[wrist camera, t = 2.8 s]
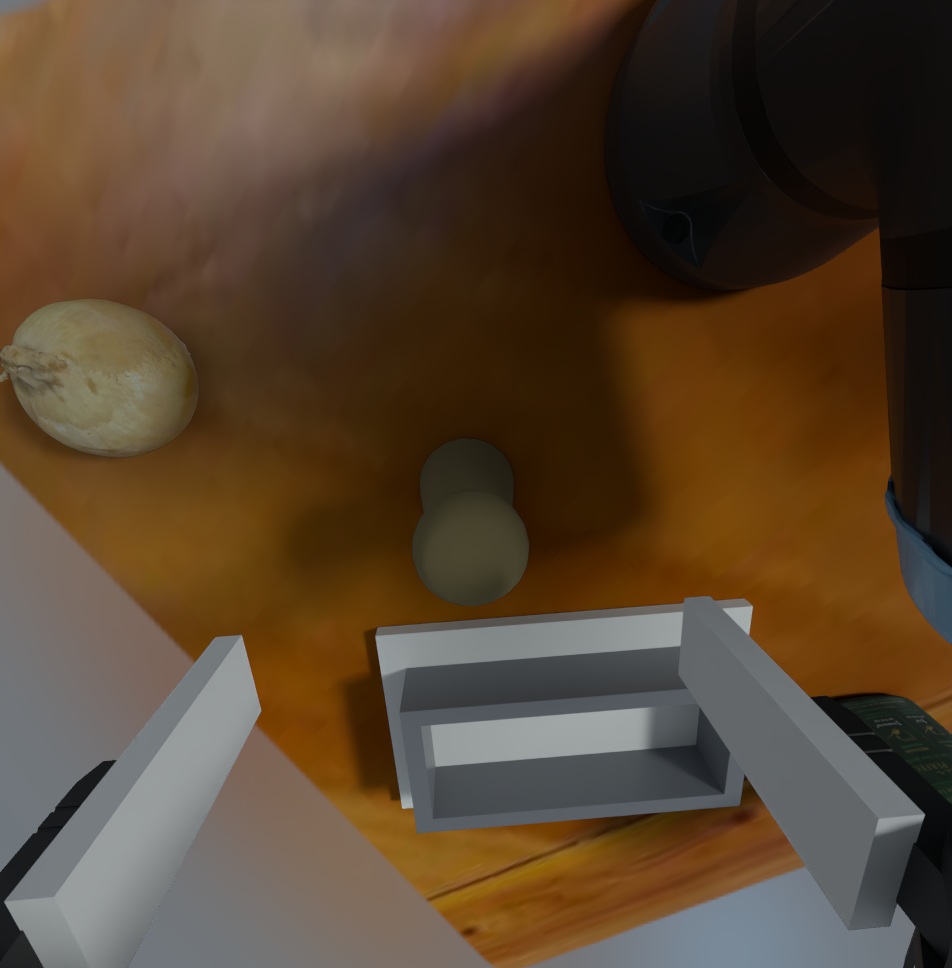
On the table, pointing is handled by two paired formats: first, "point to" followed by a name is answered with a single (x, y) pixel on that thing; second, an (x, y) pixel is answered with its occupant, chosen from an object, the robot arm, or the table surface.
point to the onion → (102, 377)
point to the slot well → (551, 719)
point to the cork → (469, 525)
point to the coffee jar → (909, 736)
